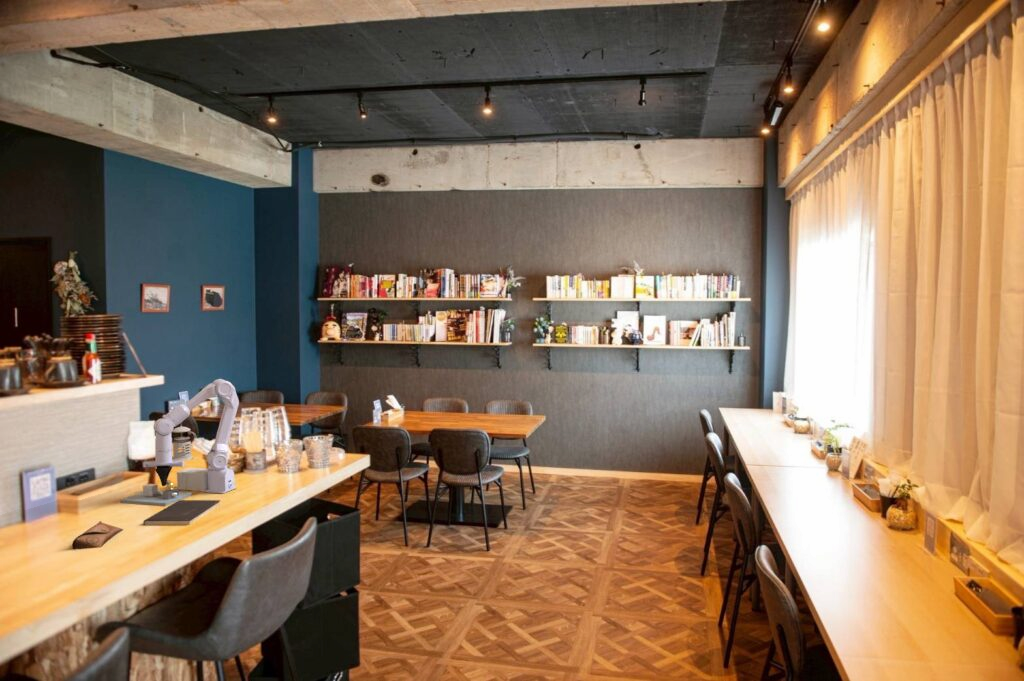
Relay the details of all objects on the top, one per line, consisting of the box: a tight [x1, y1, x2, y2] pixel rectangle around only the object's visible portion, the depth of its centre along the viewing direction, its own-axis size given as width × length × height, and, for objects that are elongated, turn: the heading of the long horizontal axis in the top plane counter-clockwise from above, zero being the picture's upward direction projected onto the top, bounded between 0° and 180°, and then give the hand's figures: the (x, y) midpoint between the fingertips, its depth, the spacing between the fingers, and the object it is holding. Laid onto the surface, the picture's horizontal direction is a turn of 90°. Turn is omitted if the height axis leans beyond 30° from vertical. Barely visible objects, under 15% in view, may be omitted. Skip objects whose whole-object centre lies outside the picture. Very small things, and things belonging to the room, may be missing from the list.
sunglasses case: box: [71, 520, 124, 550], centre depth 221 cm, size 18×7×7 cm
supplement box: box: [176, 467, 208, 492], centre depth 280 cm, size 7×7×13 cm
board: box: [119, 490, 193, 507], centre depth 265 cm, size 20×14×1 cm
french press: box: [171, 423, 197, 461], centre depth 334 cm, size 10×12×25 cm
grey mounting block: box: [162, 487, 180, 500], centre depth 264 cm, size 2×6×3 cm, turn 167°
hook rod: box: [142, 483, 178, 497], centre depth 265 cm, size 14×3×4 cm, turn 77°
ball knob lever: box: [165, 479, 174, 490], centre depth 265 cm, size 2×6×2 cm, turn 35°
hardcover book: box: [143, 499, 221, 526], centre depth 246 cm, size 16×23×2 cm
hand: (164, 485), depth 265 cm, fingers closed
